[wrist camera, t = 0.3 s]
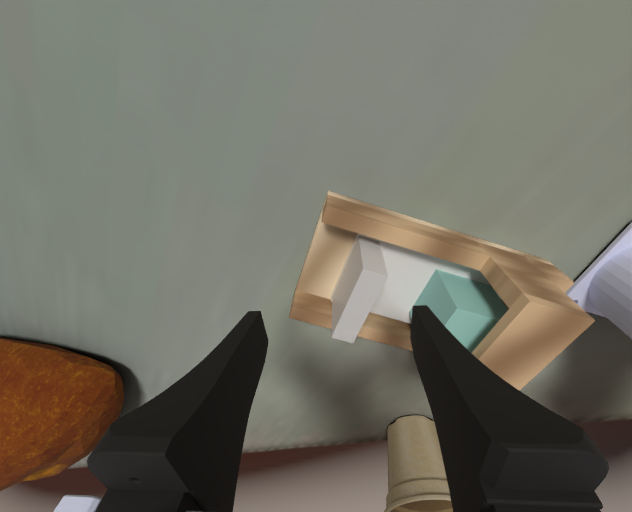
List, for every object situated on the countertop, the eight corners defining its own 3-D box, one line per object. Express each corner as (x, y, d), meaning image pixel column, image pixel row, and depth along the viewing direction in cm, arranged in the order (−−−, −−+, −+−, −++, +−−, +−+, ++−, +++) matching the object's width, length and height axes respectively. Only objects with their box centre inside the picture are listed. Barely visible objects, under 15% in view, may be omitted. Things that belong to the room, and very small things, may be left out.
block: (489, 285, 22) (521, 326, 18) (458, 325, 25) (481, 370, 21) (436, 268, 22) (457, 308, 18) (409, 311, 24) (423, 355, 20)
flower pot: (468, 435, 35) (503, 528, 28) (400, 456, 39) (415, 544, 31) (429, 395, 32) (456, 489, 24) (358, 422, 35) (364, 512, 28)
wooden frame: (547, 260, 23) (634, 332, 16) (475, 345, 28) (518, 427, 21) (328, 190, 21) (323, 239, 14) (293, 294, 26) (278, 365, 19)
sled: (503, 271, 22) (544, 316, 18) (457, 331, 26) (481, 381, 21) (359, 226, 21) (365, 263, 17) (331, 296, 25) (329, 341, 20)
